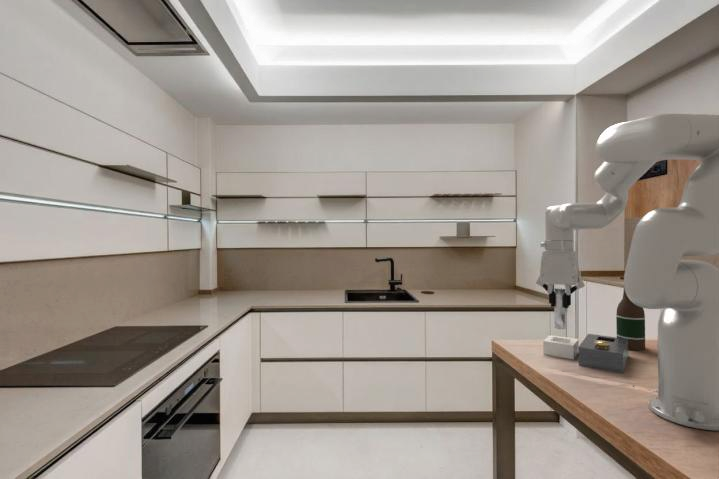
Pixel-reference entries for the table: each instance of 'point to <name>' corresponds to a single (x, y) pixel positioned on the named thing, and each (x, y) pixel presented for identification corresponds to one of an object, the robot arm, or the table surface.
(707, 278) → the robot arm
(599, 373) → the table surface
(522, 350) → the table surface
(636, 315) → the beer bottle
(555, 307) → the silver rounded peg
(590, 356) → the socket block
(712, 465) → the table surface
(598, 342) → the key
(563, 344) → the holder
